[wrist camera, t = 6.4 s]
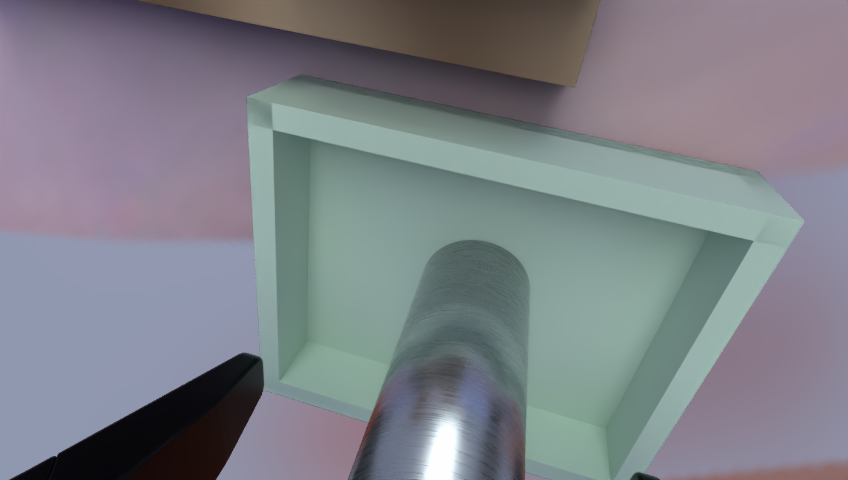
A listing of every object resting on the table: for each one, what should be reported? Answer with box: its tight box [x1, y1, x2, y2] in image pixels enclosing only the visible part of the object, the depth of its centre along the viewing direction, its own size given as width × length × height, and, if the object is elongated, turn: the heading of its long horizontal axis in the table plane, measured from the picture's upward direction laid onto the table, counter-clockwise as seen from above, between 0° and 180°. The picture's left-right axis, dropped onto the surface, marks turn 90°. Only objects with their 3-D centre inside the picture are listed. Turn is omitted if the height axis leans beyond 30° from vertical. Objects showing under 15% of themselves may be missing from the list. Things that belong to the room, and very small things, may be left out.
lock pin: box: [348, 240, 530, 480], centre depth 10 cm, size 4×4×9 cm
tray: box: [246, 75, 804, 480], centre depth 13 cm, size 11×9×2 cm
